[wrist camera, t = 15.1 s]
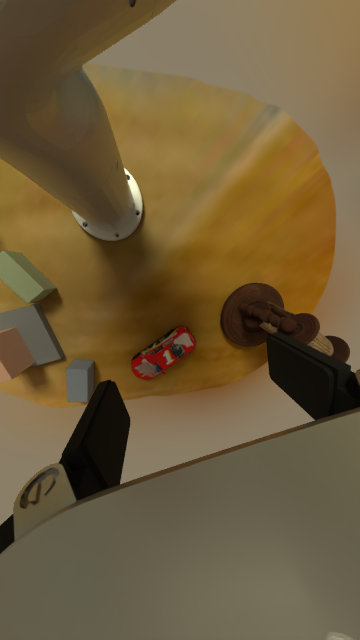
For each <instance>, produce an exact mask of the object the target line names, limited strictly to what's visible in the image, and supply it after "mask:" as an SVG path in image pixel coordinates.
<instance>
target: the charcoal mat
mask: <svg viewBox="0 0 360 640" xmlns="http://www.w3.org/2000/svg"><path fill="white" fill-rule="evenodd" d="M14 327H16V328H17V330H18V332H19V333H20V335H21V337H22V339H23V341H24V342H25V344H26V346H27V348H28V350H29V351H30V353H31V355H32V357H33V358H34V360H35V363H34V364H32V365H31V366H30V367H33V366H37V365H41V364H44V363H48V362H52V361H55V360H59V359H62V358H63V357H64V356H65V355H64V353H63V351H62V349H61V347H60V345H59V343H58V341H57V339H56V337H55V335H54V333H53V331H52V329H51V327H50V325H49V323H48V321H47V319H46V317H45V315H44V313H43V311H42V309H41V307H40V305H39V304H36V305H32V306H28V307H24V308H20V309H16V310H12V311H8V312H4V313H0V331H2V330H6V329H10V328H14ZM30 367H28V368H30Z"/></svg>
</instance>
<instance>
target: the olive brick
mask: <svg viewBox="0 0 360 640" xmlns="http://www.w3.org/2000/svg"><path fill="white" fill-rule="evenodd" d="M0 279H1V280H2V281H3V282H4V283H5V284H7V285H8V286H9V287H10V288H11V289H12V290H13V291H14V292H15V293H17V294H18V295H19V296H20V297H21V298H22V299H23V300H24V301H25V302H27V303H32V302H36V301H40V300H42V299H44V298H45V297H46V296H47V295H48V294H50V293H51V292H52V291H53V290H54V289H56V287H55V286H54V285H53V284H52V283H51V282H50V281H49V280H48V279H47V278H46V277H45V276H44V275H43V274H42V273H41V272H40V271H39V270H38V269H37V268H36V267H35V266H34V265H33V264H32V263H31V262H30V261H29V260H28V259H27V258H26V257H25V256H24V255H23V254H22V253H19V252H12V251H5V250H3V251H2V252H1V253H0Z"/></svg>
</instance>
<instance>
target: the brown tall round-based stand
mask: <svg viewBox="0 0 360 640" xmlns="http://www.w3.org/2000/svg"><path fill="white" fill-rule="evenodd" d="M221 324H222V328H223V330H224V332H225V334H226V335H227V337H228V338H229V339H231V340H232V341H233V342H234V343H236V344H238V345H241V346H247V347H249V346H256V345H260V344H262V343H264V342H266V338H267V337H268V335H269V334H272V333H276V332H281V333H283V334H285V335H287V336H289V337H292V338H294V339H296V340H298V341H300V342H302V343H304V344H306V345H308V346H310V347H312V348H314V349H317V350H319V351H321V352H323V353H325V354H327V355H329V356H331V357H333V358H335V359H337V360H339V361H342V362H344V363H345V362H346V361H347V360H348V358H349V355H350V349H349V346H348V344H347V343H346V342H345V341H344V340H342V339H341V338H338V337H335V336H323V335H322V334H321V333H320V332H319V329H320V324H319V321H318V319H317V318H316V317H315V316H313V315H311V314H308V313H300V314H293V313H290V312H288V311H285V310H284V304H283V300H282V298H281V296H280V294H279V293H278V292H277V291H276V290H275V289H274V288H273V287H271V286H269V285H266V284H262V283H250V284H246V285H244V286H242V287H240V288H238V289H237V290H235V291H234V292H233V293H232V294H231V295H230V296H229V297H228V299H227V300H226V302H225V304H224V306H223V309H222V313H221Z"/></svg>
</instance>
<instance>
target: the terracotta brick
mask: <svg viewBox="0 0 360 640" xmlns="http://www.w3.org/2000/svg"><path fill="white" fill-rule="evenodd" d="M34 363H35V360H34V358H33V357H32V355H31V353H30V351H29V350H28V348H27V346H26V344H25V342H24V341H23V339H22V337H21V335H20V333H19V332H18V330H17V328H16V327H14V328H10V329H6V330H2V331H0V383H1V382H4V381H8V380H12V379H13V378H15V377H16V376H17V375H19V374H20V373H21V372H23V371H24V370H25V369H27V368H28V367H30V366H31V365H32V364H34Z"/></svg>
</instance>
